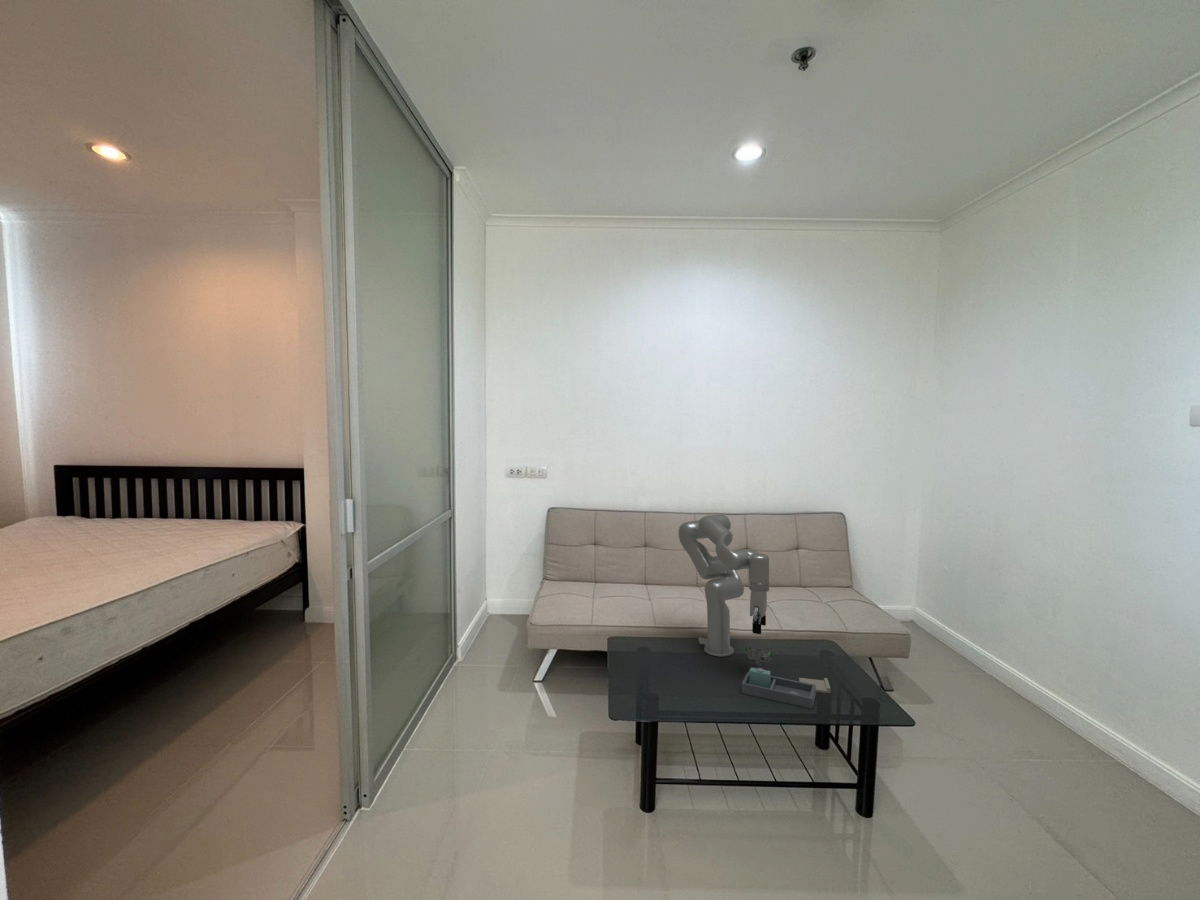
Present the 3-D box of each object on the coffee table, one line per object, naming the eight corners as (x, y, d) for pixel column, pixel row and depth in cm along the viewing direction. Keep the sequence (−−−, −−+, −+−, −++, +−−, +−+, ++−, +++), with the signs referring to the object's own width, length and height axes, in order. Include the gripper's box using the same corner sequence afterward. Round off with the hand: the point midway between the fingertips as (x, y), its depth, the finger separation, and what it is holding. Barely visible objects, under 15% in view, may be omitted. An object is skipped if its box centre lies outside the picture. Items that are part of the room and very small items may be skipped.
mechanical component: (771, 679, 194) (771, 654, 193) (745, 673, 199) (744, 648, 199) (773, 676, 196) (773, 651, 196) (747, 670, 202) (747, 645, 201)
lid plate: (801, 689, 186) (801, 685, 186) (799, 679, 194) (798, 675, 193) (830, 693, 183) (830, 688, 183) (827, 682, 191) (827, 678, 191)
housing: (741, 693, 184) (741, 672, 184) (748, 680, 194) (748, 660, 194) (812, 709, 173) (812, 687, 173) (815, 694, 183) (815, 673, 182)
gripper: (753, 578, 206) (753, 620, 207) (744, 590, 191) (744, 635, 191) (772, 581, 203) (772, 623, 203) (765, 593, 187) (765, 638, 188)
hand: (759, 629), depth 197 cm, fingers open, 9 cm apart
